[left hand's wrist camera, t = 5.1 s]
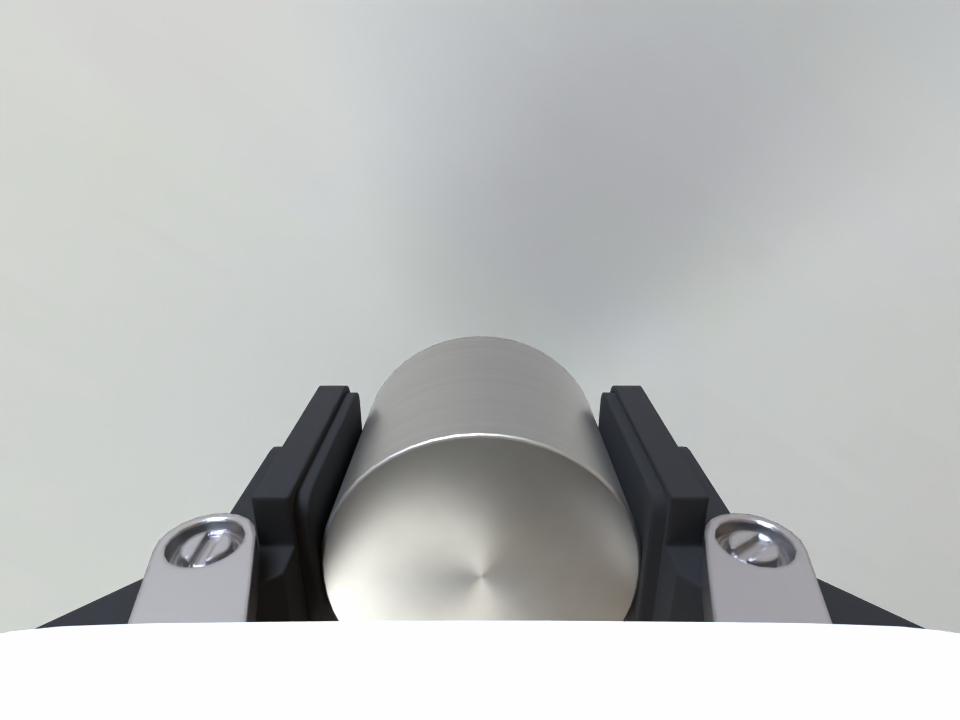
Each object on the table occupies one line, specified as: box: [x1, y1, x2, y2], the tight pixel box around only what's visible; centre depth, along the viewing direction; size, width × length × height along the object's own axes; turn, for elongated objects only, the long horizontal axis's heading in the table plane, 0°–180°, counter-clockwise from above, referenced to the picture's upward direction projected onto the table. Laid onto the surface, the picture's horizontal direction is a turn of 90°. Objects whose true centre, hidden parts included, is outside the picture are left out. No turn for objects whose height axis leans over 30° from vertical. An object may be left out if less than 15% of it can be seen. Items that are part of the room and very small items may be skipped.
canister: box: [320, 336, 642, 621], centre depth 11 cm, size 5×5×4 cm
